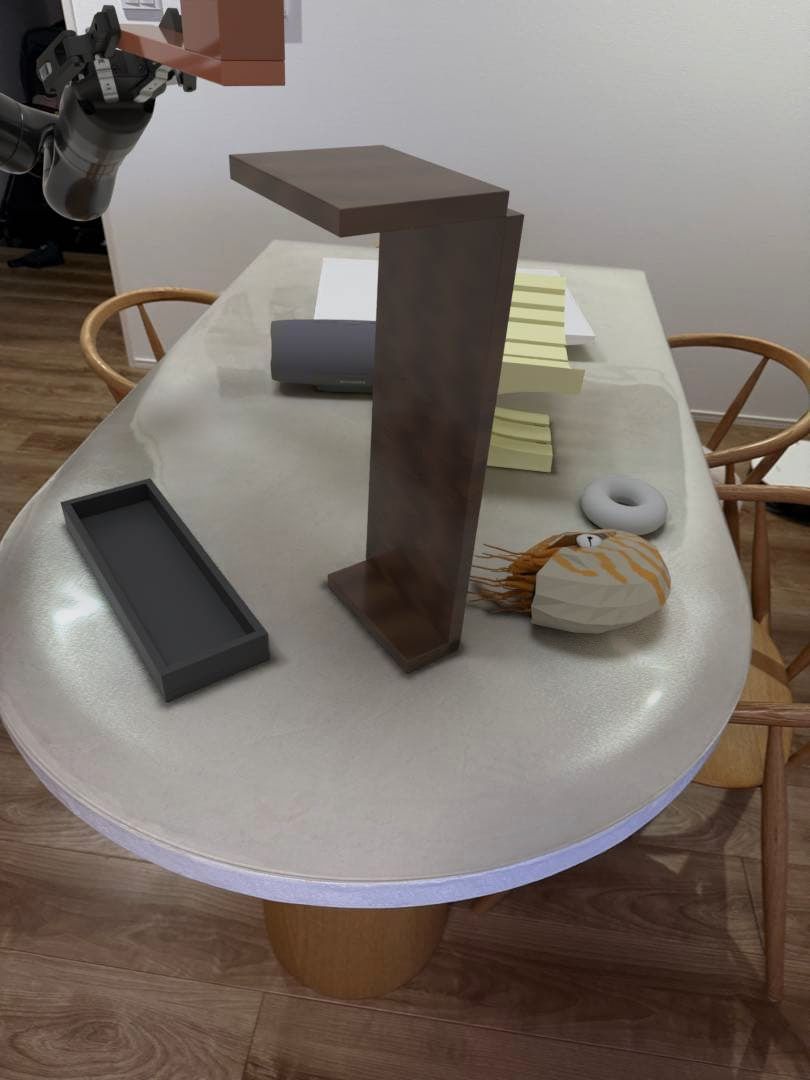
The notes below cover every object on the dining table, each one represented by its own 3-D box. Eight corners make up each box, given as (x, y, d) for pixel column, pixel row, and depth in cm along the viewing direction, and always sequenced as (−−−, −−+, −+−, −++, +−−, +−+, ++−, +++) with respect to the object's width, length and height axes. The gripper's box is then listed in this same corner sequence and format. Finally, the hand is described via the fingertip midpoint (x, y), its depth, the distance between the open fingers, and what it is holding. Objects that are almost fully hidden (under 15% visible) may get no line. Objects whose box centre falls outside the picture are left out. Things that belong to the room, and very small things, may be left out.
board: (313, 350, 122) (312, 322, 119) (323, 282, 148) (323, 257, 145) (589, 363, 125) (595, 336, 122) (552, 294, 151) (557, 270, 148)
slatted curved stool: (437, 385, 115) (449, 266, 104) (543, 396, 114) (565, 277, 104) (420, 495, 91) (433, 354, 80) (554, 509, 91) (585, 370, 80)
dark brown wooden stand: (259, 611, 74) (228, 154, 49) (377, 566, 80) (400, 143, 56) (334, 708, 65) (340, 209, 40) (459, 648, 71) (528, 188, 47)
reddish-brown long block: (102, 43, 63) (91, -31, 60) (154, 44, 65) (146, -27, 62) (223, 86, 48) (216, -10, 45) (285, 85, 50) (283, -6, 47)
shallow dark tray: (66, 526, 82) (60, 502, 80) (154, 501, 87) (150, 477, 85) (166, 702, 64) (161, 676, 62) (269, 658, 69) (268, 633, 67)
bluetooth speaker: (425, 375, 118) (430, 312, 112) (431, 403, 110) (437, 337, 104) (275, 371, 115) (273, 306, 109) (271, 399, 108) (268, 331, 102)
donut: (580, 487, 95) (575, 531, 87) (585, 463, 93) (581, 506, 85) (662, 502, 94) (665, 549, 86) (669, 478, 92) (673, 523, 84)
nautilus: (439, 640, 73) (457, 552, 85) (673, 668, 70) (656, 572, 82) (443, 572, 68) (461, 490, 81) (692, 600, 65) (671, 509, 78)
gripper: (13, 69, 70) (34, -41, 56) (164, 69, 77) (218, -28, 63) (39, 155, 72) (66, 70, 57) (185, 148, 79) (243, 71, 64)
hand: (145, 19), depth 60 cm, fingers closed on reddish-brown long block, 4 cm apart
